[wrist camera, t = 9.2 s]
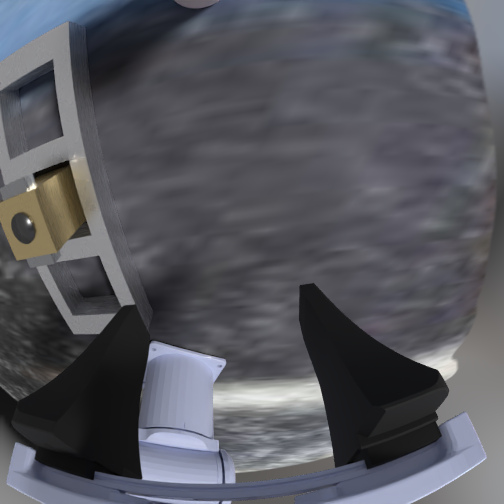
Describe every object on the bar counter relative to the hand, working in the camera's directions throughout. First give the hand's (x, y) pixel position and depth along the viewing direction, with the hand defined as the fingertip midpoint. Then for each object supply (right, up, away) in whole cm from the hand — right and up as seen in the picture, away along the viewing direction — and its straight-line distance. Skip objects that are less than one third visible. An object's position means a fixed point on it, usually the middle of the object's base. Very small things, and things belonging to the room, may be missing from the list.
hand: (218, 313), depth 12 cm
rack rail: (-13, +7, +6) cm, 15 cm away
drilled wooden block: (-12, +7, +6) cm, 15 cm away
